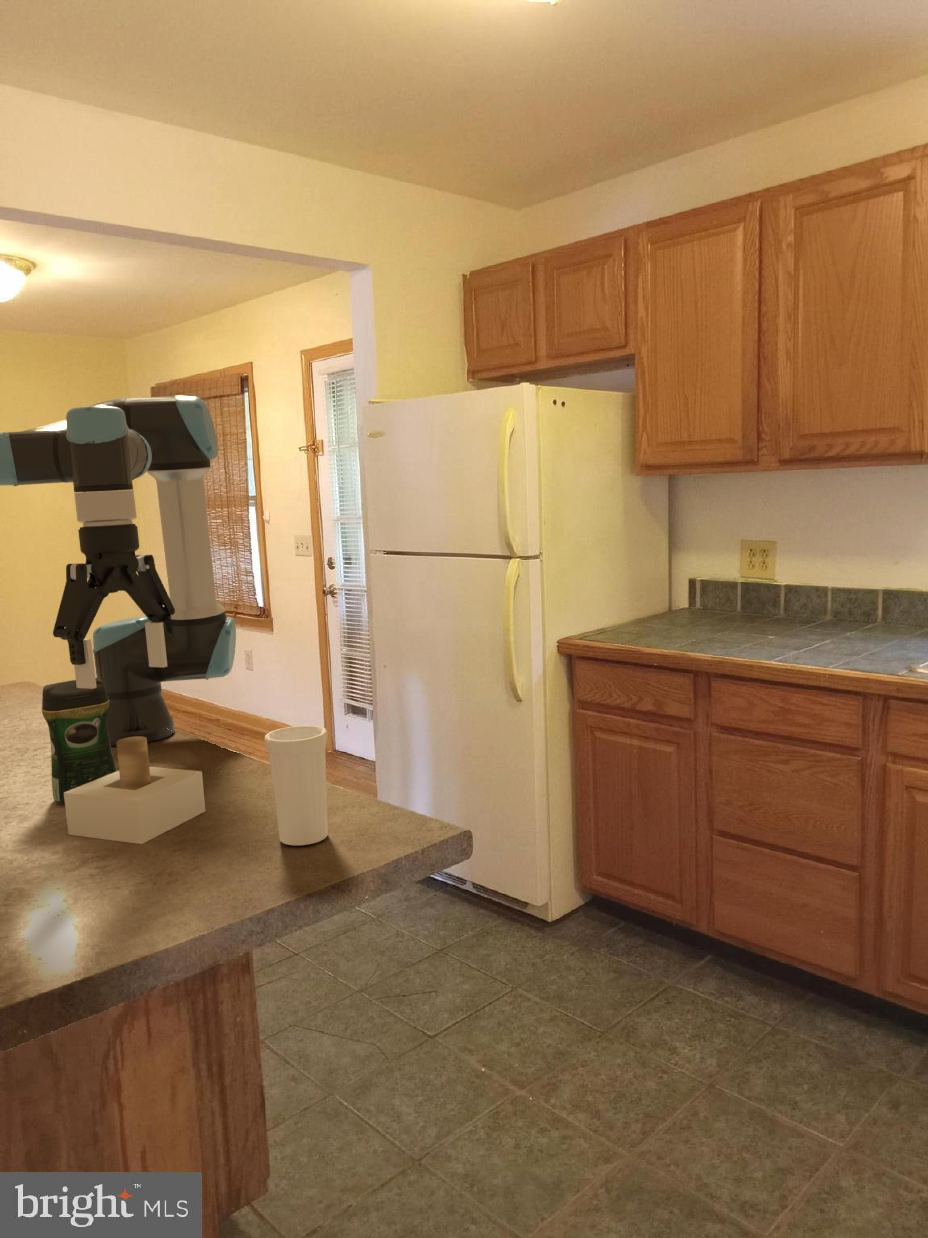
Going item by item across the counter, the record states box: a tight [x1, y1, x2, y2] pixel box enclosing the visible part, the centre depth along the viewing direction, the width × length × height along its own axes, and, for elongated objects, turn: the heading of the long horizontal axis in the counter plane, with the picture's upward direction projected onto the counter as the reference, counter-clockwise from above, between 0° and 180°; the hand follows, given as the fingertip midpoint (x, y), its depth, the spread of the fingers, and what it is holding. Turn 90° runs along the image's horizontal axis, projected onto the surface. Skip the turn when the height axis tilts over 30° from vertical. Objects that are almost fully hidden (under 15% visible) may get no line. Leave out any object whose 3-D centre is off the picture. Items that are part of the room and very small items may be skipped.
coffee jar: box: [41, 677, 118, 806], centre depth 140 cm, size 10×8×19 cm
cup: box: [264, 725, 329, 846], centre depth 118 cm, size 8×8×14 cm
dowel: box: [116, 736, 151, 790], centre depth 128 cm, size 4×4×12 cm
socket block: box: [64, 766, 207, 845], centre depth 128 cm, size 13×13×6 cm
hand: (124, 677), depth 126 cm, fingers open, 13 cm apart
